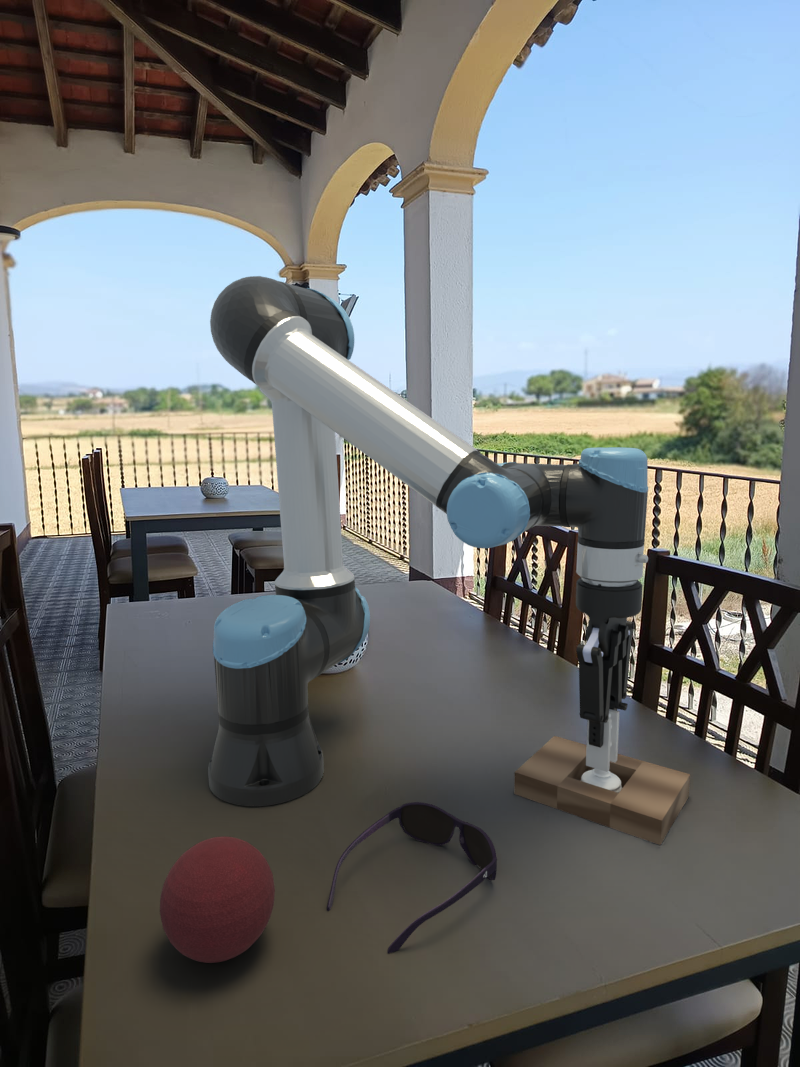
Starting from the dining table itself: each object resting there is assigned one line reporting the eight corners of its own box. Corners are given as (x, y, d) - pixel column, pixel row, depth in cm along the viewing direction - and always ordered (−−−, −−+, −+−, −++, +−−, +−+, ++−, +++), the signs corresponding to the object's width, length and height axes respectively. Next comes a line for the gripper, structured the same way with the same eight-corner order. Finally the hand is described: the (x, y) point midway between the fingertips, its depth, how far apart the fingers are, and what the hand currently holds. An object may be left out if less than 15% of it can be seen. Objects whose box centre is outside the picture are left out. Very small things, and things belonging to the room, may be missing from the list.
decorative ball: (152, 933, 64) (144, 836, 62) (255, 893, 69) (250, 803, 67) (180, 1011, 55) (171, 901, 54) (294, 959, 61) (289, 857, 59)
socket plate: (660, 845, 76) (661, 820, 75) (514, 793, 86) (514, 772, 86) (688, 796, 85) (690, 774, 85) (553, 755, 96) (554, 735, 95)
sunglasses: (511, 881, 71) (512, 837, 70) (414, 975, 59) (413, 924, 58) (411, 830, 80) (411, 791, 79) (309, 903, 68) (307, 858, 67)
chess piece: (572, 778, 87) (575, 704, 85) (604, 771, 89) (608, 698, 87) (596, 798, 82) (599, 721, 81) (630, 790, 84) (634, 714, 82)
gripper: (618, 597, 73) (609, 800, 77) (660, 570, 85) (650, 747, 89) (552, 587, 77) (547, 779, 81) (601, 563, 89) (594, 731, 93)
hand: (601, 762), depth 85 cm, fingers closed on chess piece, 2 cm apart
